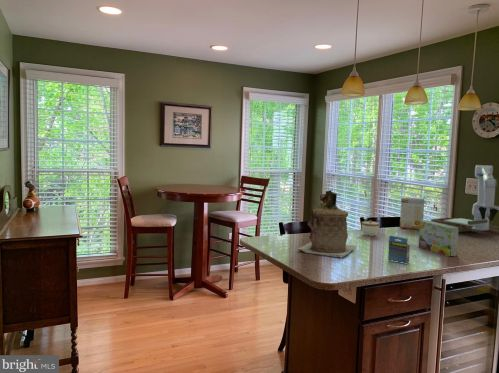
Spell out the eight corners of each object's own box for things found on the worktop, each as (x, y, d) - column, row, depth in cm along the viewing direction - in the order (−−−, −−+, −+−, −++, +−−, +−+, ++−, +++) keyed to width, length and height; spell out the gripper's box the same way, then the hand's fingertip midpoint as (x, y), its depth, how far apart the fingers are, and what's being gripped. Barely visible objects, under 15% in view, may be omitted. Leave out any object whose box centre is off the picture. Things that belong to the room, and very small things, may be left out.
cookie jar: (357, 249, 209) (360, 189, 206) (343, 259, 188) (346, 193, 185) (313, 242, 222) (315, 186, 219) (295, 252, 201) (297, 189, 198)
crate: (447, 225, 282) (447, 217, 282) (471, 230, 267) (472, 221, 266) (430, 227, 274) (431, 219, 273) (455, 232, 258) (455, 223, 258)
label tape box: (409, 263, 185) (410, 237, 184) (406, 264, 182) (407, 238, 181) (390, 259, 191) (392, 234, 190) (387, 261, 188) (388, 235, 186)
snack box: (417, 247, 216) (419, 220, 215) (425, 246, 218) (427, 219, 217) (449, 257, 197) (451, 227, 195) (457, 256, 199) (459, 227, 197)
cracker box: (422, 229, 269) (424, 198, 267) (421, 230, 264) (423, 199, 262) (401, 226, 276) (403, 196, 274) (399, 227, 271) (401, 197, 269)
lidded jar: (380, 237, 240) (381, 222, 239) (362, 236, 241) (362, 221, 240) (377, 233, 250) (378, 219, 249) (359, 232, 252) (360, 218, 251)
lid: (461, 219, 273) (461, 215, 273) (487, 223, 257) (487, 219, 257) (444, 221, 264) (444, 217, 264) (470, 225, 249) (470, 221, 249)
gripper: (473, 197, 252) (472, 218, 253) (497, 200, 239) (495, 222, 240) (480, 196, 255) (478, 217, 256) (503, 199, 242) (502, 221, 244)
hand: (487, 219), depth 248 cm, fingers open, 5 cm apart
